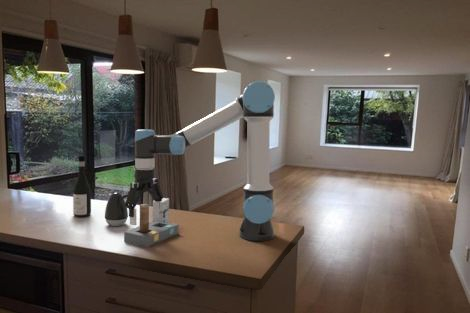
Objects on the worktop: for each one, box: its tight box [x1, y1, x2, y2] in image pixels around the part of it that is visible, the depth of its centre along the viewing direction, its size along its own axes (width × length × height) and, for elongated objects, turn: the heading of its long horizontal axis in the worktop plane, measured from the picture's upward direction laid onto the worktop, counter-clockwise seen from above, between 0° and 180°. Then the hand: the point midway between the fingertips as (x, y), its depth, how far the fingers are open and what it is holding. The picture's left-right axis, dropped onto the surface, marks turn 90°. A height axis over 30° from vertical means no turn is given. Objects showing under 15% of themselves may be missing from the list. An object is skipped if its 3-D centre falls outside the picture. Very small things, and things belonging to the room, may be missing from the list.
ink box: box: [152, 197, 170, 223], centre depth 173 cm, size 8×5×12 cm, turn 168°
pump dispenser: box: [104, 191, 129, 227], centre depth 170 cm, size 10×10×15 cm
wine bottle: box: [72, 154, 92, 218], centre depth 182 cm, size 8×8×30 cm
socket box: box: [123, 220, 179, 248], centre depth 154 cm, size 12×20×4 cm, turn 153°
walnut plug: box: [139, 203, 150, 234], centre depth 149 cm, size 4×4×14 cm
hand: (145, 220), depth 149 cm, fingers open, 13 cm apart
